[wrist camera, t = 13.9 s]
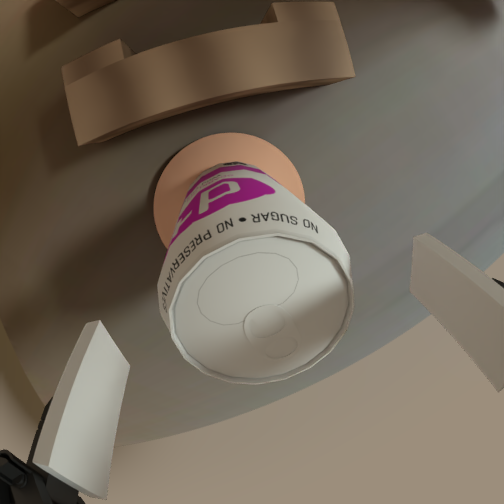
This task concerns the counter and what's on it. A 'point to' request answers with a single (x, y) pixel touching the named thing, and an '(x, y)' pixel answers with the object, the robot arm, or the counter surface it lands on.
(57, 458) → the robot arm
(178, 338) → the supplement can
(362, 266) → the counter surface
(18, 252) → the counter surface
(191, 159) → the peach smooth rounded piece
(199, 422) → the counter surface
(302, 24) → the walnut caddy
